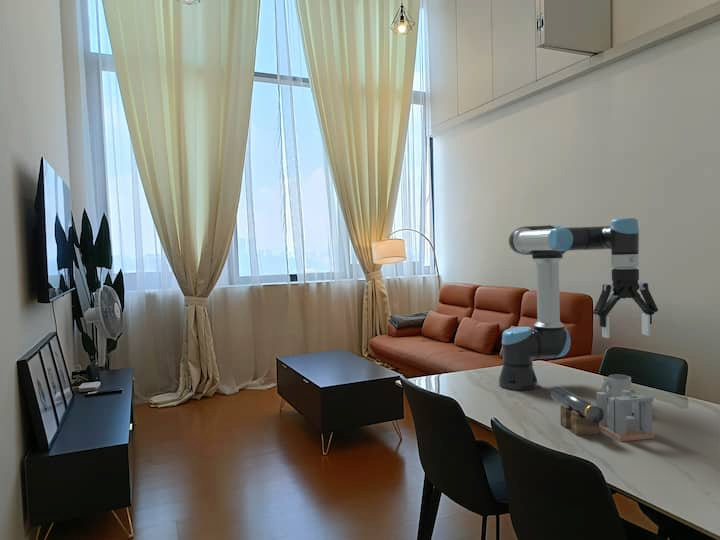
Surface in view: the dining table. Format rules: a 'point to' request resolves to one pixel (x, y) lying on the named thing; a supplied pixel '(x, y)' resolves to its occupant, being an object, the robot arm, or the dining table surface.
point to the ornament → (632, 395)
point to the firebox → (626, 416)
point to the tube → (577, 404)
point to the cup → (616, 385)
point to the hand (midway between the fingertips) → (625, 336)
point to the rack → (577, 422)
